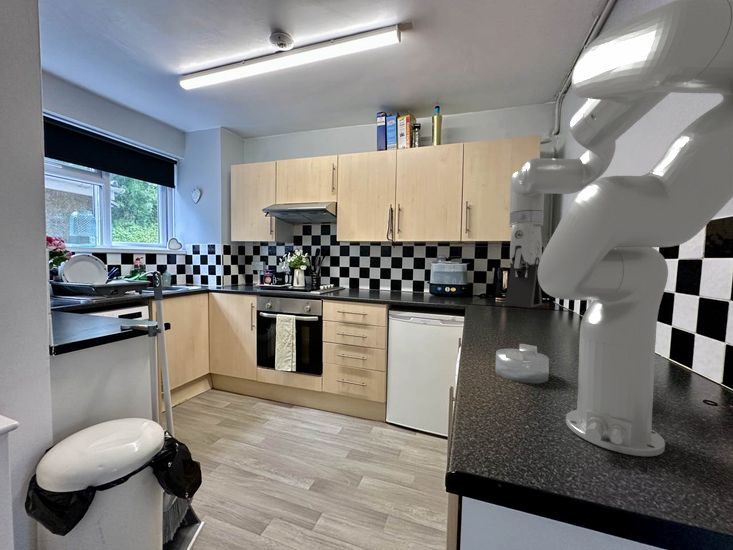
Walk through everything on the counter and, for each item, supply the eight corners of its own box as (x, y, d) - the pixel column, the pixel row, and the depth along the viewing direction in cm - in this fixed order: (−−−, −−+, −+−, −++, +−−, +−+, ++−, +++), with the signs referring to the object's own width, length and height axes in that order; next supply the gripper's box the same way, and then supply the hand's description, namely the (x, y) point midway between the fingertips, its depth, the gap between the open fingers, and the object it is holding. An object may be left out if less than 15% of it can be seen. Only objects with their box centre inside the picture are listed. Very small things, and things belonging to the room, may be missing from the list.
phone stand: (530, 307, 72) (532, 256, 72) (504, 305, 76) (505, 256, 76) (542, 304, 78) (543, 257, 78) (517, 302, 82) (518, 258, 82)
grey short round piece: (540, 387, 69) (541, 358, 69) (487, 373, 78) (488, 348, 78) (553, 374, 78) (554, 349, 78) (505, 363, 86) (506, 340, 86)
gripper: (532, 214, 68) (530, 296, 69) (551, 222, 79) (549, 293, 80) (498, 218, 74) (496, 294, 74) (520, 225, 85) (518, 291, 85)
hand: (523, 293), depth 77 cm, fingers closed on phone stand, 1 cm apart
